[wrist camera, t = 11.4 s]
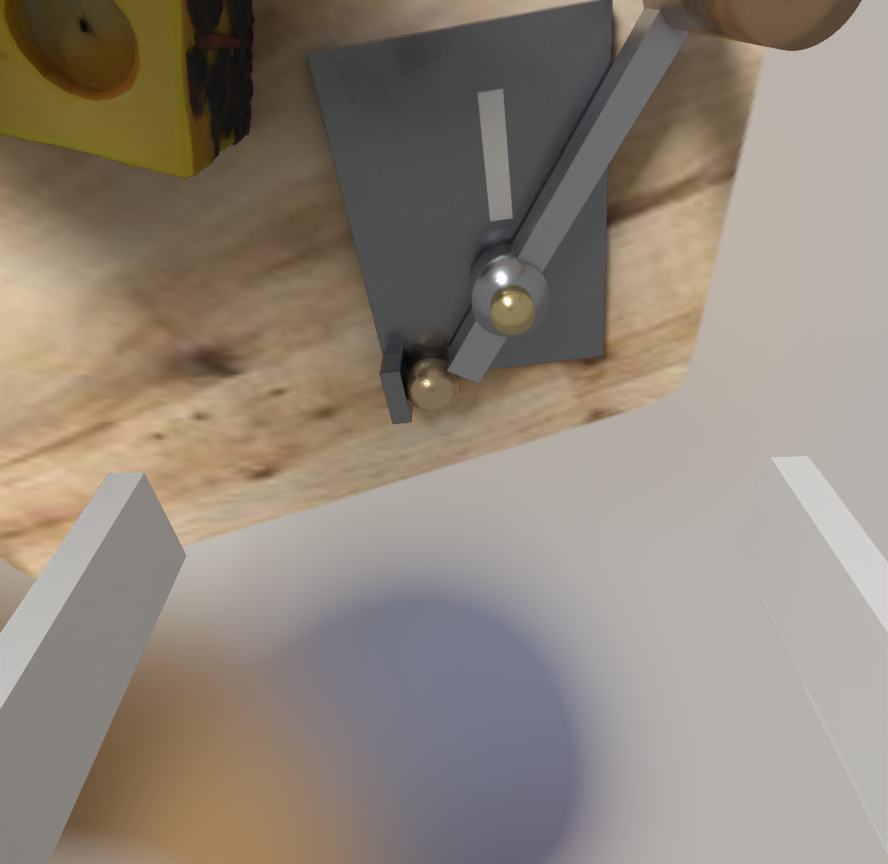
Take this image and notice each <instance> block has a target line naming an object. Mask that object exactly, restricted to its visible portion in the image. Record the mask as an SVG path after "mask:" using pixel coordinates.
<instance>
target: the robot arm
mask: <svg viewBox="0 0 888 864" xmlns="http://www.w3.org/2000/svg"><path fill="white" fill-rule="evenodd" d="M733 546H734V548H735V550H736V552H737V554H738V556H739V558H740V560H741V562H742V564H743V566H744V568H745V570H746V572H747V574H748V576H749V578H750V580H751V582H752V584H753V586H754V588H755V590H756V592H757V594H758V596H759V598H760V600H761V602H762V604H763V606H764V608H765V610H766V612H767V614H768V616H769V618H770V620H771V622H772V624H773V626H774V628H775V630H776V632H777V634H778V636H779V638H780V640H781V642H782V644H783V646H784V648H785V650H786V652H787V654H788V656H789V658H790V660H791V662H792V664H793V666H794V668H795V670H796V672H797V674H798V676H799V678H800V680H801V682H802V684H803V686H804V688H805V690H806V692H807V694H808V696H809V698H810V700H811V702H812V704H813V706H814V708H815V710H816V712H817V714H818V716H819V718H820V720H821V722H822V724H823V726H824V728H825V730H826V732H827V734H828V736H829V738H830V740H831V742H832V744H833V746H834V748H835V750H836V752H837V754H838V756H839V758H840V760H841V762H842V764H843V766H844V768H845V770H846V772H847V774H848V776H849V778H850V780H851V782H852V784H853V786H854V788H855V790H856V792H857V794H858V796H859V798H860V800H861V802H862V804H863V806H864V808H865V810H866V812H867V814H868V816H869V818H870V820H871V822H872V824H873V826H874V828H875V830H876V832H877V834H878V836H879V838H880V840H881V842H882V844H883V846H884V848H885V850H886V852H887V854H888V562H887V561H886V560H885V558H884V557H883V556H882V555H881V553H880V552H879V550H878V549H877V548H876V546H875V545H874V544H873V542H872V541H871V540H870V538H869V537H868V536H867V534H866V533H865V532H864V530H863V529H862V528H861V526H860V525H859V524H858V522H857V521H856V520H855V518H854V517H853V516H852V514H851V513H850V511H849V510H848V509H847V507H846V506H845V505H844V504H843V502H842V501H841V500H840V498H839V497H838V495H837V494H836V493H835V491H834V490H833V489H832V487H831V486H830V485H829V483H828V482H827V481H826V480H825V478H824V477H823V476H822V474H821V473H820V472H819V470H818V469H817V467H815V465H814V463H813V462H812V461H811V459H810V458H809V457H808V456H801V457H770V460H769V462H768V464H767V466H766V469H765V471H764V473H763V476H762V478H761V480H760V482H759V485H758V487H757V489H756V491H755V494H754V496H753V498H752V501H751V503H750V505H749V508H748V510H747V512H746V514H745V516H744V519H743V521H742V523H741V526H740V528H739V530H738V533H737V535H736V537H735V539H734V541H733ZM185 557H186V554H185V552H184V550H183V548H182V546H181V544H180V542H179V540H178V538H177V536H176V534H175V532H174V530H173V528H172V526H171V524H170V522H169V520H168V518H167V516H166V514H165V512H164V510H163V509H162V507H161V505H160V503H159V501H158V499H157V497H156V495H155V493H154V491H153V489H152V487H151V485H150V483H149V481H148V479H147V477H146V475H145V473H109V474H108V475H107V477H106V478H105V480H104V481H103V483H102V484H101V486H100V487H99V489H98V490H97V492H96V493H95V494H94V496H93V497H92V499H91V500H90V502H89V503H88V505H87V506H86V508H85V509H84V511H83V512H82V514H81V515H80V517H79V518H78V520H77V521H76V523H75V524H74V525H73V527H72V528H71V530H70V531H69V533H68V534H67V536H66V537H65V539H64V540H63V542H62V543H61V545H60V546H59V548H58V549H57V551H56V552H55V554H54V555H53V556H52V558H51V559H50V561H49V562H48V564H47V565H46V567H45V568H44V570H43V571H42V573H41V574H40V576H39V577H38V579H37V580H36V582H35V583H34V585H33V586H32V588H31V589H30V591H29V592H28V593H27V595H26V596H25V598H24V599H23V601H22V602H21V604H20V605H19V607H18V608H17V610H16V611H15V613H14V614H13V616H12V617H11V619H10V620H9V621H8V623H7V624H6V626H5V627H4V629H3V630H2V632H1V633H0V864H48V862H49V860H50V858H51V856H52V853H53V851H54V849H55V847H56V845H57V842H58V840H59V837H60V836H61V833H62V831H63V829H64V827H65V824H66V822H67V820H68V818H69V816H70V813H71V811H72V809H73V807H74V804H75V802H76V800H77V798H78V796H79V793H80V791H81V789H82V787H83V784H84V782H85V780H86V778H87V776H88V773H89V771H90V769H91V767H92V764H93V762H94V760H95V758H96V755H97V753H98V751H99V749H100V746H101V744H102V742H103V740H104V738H105V735H106V733H107V731H108V729H109V726H110V724H111V722H112V720H113V717H114V715H115V713H116V711H117V709H118V706H119V704H120V702H121V700H122V698H123V695H124V693H125V691H126V689H127V686H128V684H129V681H130V680H131V677H132V675H133V673H134V671H135V669H136V666H137V664H138V662H139V660H140V657H141V655H142V653H143V651H144V648H145V646H146V644H147V642H148V640H149V637H150V635H151V633H152V631H153V628H154V626H155V624H156V622H157V619H158V617H159V615H160V613H161V611H162V608H163V606H164V604H165V602H166V599H167V597H168V595H169V593H170V591H171V588H172V586H173V584H174V582H175V579H176V577H177V575H178V573H179V570H180V568H181V566H182V564H183V562H184V559H185Z"/></svg>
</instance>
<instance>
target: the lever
mask: <svg viewBox="0 0 888 864" xmlns="http://www.w3.org/2000/svg"><path fill="white" fill-rule="evenodd" d="M860 2H861V0H643V5H644V10H643V12H642V13H641V15H640V17H639V19H638V21H637V22H636V24H635V26H634V28H633V29H632V31H631V33H630V35H629V37H628V38H627V40H626V42H625V44H624V45H623V47H622V49H621V51H620V53H619V54H618V56H617V58H616V60H615V62H614V63H613V65H612V67H611V69H610V70H609V72H608V74H607V76H606V78H605V79H604V81H603V83H602V85H601V86H600V88H599V90H598V92H597V94H596V95H595V97H594V99H593V101H592V102H591V104H590V106H589V108H588V110H587V111H586V113H585V115H584V117H583V118H582V120H581V122H580V124H579V126H578V127H577V129H576V131H575V133H574V135H573V136H572V138H571V140H570V142H569V143H568V145H567V147H566V149H565V151H564V152H563V154H562V156H561V158H560V159H559V161H558V163H557V165H556V167H555V168H554V170H553V172H552V174H551V175H550V177H549V179H548V181H547V183H546V184H545V186H544V188H543V190H542V191H541V193H540V195H539V197H538V199H537V200H536V202H535V204H534V206H533V208H532V209H531V211H530V213H529V215H528V216H527V218H526V220H525V222H524V224H523V225H522V227H521V229H520V231H519V232H518V234H517V236H516V238H515V240H514V241H513V243H512V244H505V245H500V246H496V247H494V248H492V249H490V250H488V251H487V252H485V253H484V254H483V255H482V256H481V257H480V258H479V259H478V260H477V262H476V263H475V265H474V267H473V270H472V273H471V299H472V307H471V309H470V311H469V313H468V315H467V316H466V318H465V320H464V322H463V324H462V325H461V327H460V329H459V331H458V333H457V334H456V336H455V338H454V340H453V342H452V343H451V345H450V347H449V349H448V363H447V371H449V372H451V373H454V374H456V375H458V376H461V377H463V378H466V379H468V380H470V381H473V382H475V383H478V384H479V382H480V381H481V379H482V377H483V376H484V374H485V372H486V371H487V369H488V368H489V366H490V364H491V363H492V361H493V360H494V358H495V356H496V355H497V353H498V352H499V350H500V348H501V347H502V345H503V344H504V342H505V340H506V339H507V337H517V336H521V335H524V334H526V333H528V332H530V331H532V330H533V329H535V328H536V327H537V326H538V325H539V324H540V323H541V322H542V320H543V319H544V318H545V316H546V314H547V312H548V309H549V305H550V293H549V289H548V285H547V282H546V279H545V276H544V272H543V270H544V269H545V267H546V265H547V264H548V262H549V260H550V259H551V257H552V256H553V254H554V252H555V251H556V249H557V247H558V246H559V244H560V243H561V241H562V239H563V238H564V236H565V234H566V233H567V231H568V230H569V228H570V226H571V225H572V223H573V221H574V220H575V218H576V217H577V215H578V213H579V212H580V210H581V208H582V207H583V205H584V204H585V202H586V200H587V199H588V197H589V195H590V194H591V192H592V191H593V189H594V187H595V186H596V184H597V182H598V181H599V179H600V178H601V176H602V174H603V173H604V171H605V169H606V168H607V166H608V165H609V163H610V161H611V160H612V158H613V156H614V155H615V153H616V152H617V150H618V148H619V147H620V145H621V143H622V142H623V140H624V139H625V137H626V135H627V134H628V132H629V130H630V129H631V127H632V126H633V124H634V122H635V121H636V119H637V117H638V116H639V114H640V113H641V111H642V109H643V108H644V106H645V104H646V103H647V101H648V100H649V98H650V96H651V95H652V93H653V91H654V90H655V88H656V87H657V85H658V83H659V82H660V80H661V78H662V77H663V75H664V74H665V72H666V70H667V69H668V67H669V65H670V64H671V62H672V60H673V59H674V57H675V56H676V54H677V52H678V51H679V49H680V47H681V46H682V44H683V43H684V41H685V39H686V38H687V36H688V34H689V33H690V32H693V33H698V34H703V35H709V36H714V37H719V38H724V39H729V40H735V41H740V42H745V43H750V44H755V45H761V46H766V47H771V48H776V49H781V50H788V51H797V50H803V49H806V48H810V47H812V46H815V45H817V44H819V43H820V42H822V41H824V40H826V39H827V38H829V37H830V36H831V35H833V34H834V33H835V32H836V31H837V30H839V29H840V28H841V27H842V26H843V25H844V24H845V23H846V21H847V20H848V19H849V18H850V17H851V16H852V14H853V13H854V11H855V10H856V8H857V7H858V6H859V4H860ZM507 285H518V286H521V287H523V288H525V289H526V290H527V291H528V292H529V293H530V295H531V297H532V301H533V305H534V309H535V318H534V321H533V323H532V325H531V326H530V327H529V328H528V329H527V330H526V331H524V332H522V333H520V334H516V335H508V334H504V333H501V332H500V331H498V330H497V329H496V328H495V327H494V325H493V323H492V320H491V313H490V301H491V298H492V296H493V295H494V293H495V292H496V291H497V290H498V289H500V288H501V287H504V286H507Z"/></svg>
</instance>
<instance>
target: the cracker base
mask: <svg viewBox="0 0 888 864" xmlns="http://www.w3.org/2000/svg"><path fill="white" fill-rule="evenodd" d="M611 35H612V0H592V1H587V2H581V3H576V4H571V5H565V6H560V7H554V8H549V9H544V10H538V11H533V12H527V13H522V14H517V15H511V16H506V17H500V18H495V19H490V20H484V21H479V22H474V23H468V24H463V25H457V26H452V27H447V28H441V29H436V30H430V31H425V32H420V33H414V34H409V35H403V36H398V37H393V38H387V39H382V40H376V41H371V42H366V43H360V44H355V45H349V46H344V47H339V48H333V49H328V50H322V51H317V52H312V53H309V54H307V56H308V60H309V64H310V68H311V72H312V76H313V80H314V84H315V88H316V92H317V96H318V100H319V104H320V108H321V112H322V116H323V120H324V124H325V128H326V132H327V136H328V139H329V143H330V147H331V151H332V155H333V159H334V163H335V167H336V171H337V175H338V179H339V183H340V187H341V191H342V195H343V199H344V203H345V207H346V211H347V215H348V219H349V223H350V227H351V231H352V235H353V239H354V243H355V247H356V251H357V255H358V259H359V263H360V267H361V271H362V275H363V279H364V283H365V287H366V291H367V295H368V299H369V303H370V307H371V311H372V315H373V319H374V323H375V327H376V331H377V334H378V338H379V342H380V346H381V350H382V354H383V359H382V365H381V370H380V377H381V381H382V385H383V389H384V393H385V396H386V400H387V404H388V408H389V412H390V416H391V419H392V423H393V424H400V423H409V422H412V412H413V405H414V406H415V407H416V408H418V409H420V410H422V411H424V412H428V413H437V412H441V411H444V410H446V409H448V408H449V407H450V406H451V405H453V403H454V402H455V401H456V399H457V398H458V395H459V392H460V378H459V376H458V375H456V374H454V373H451V372H449V371H447V363H448V349H449V347H450V345H451V343H452V342H453V340H454V338H455V336H456V334H457V333H458V331H459V329H460V327H461V325H462V324H463V322H464V320H465V318H466V316H467V315H468V313H469V311H470V309H471V307H472V299H471V273H472V270H473V267H474V265H475V263H476V262H477V260H478V259H479V258H480V257H481V256H482V255H483V254H484V253H485V252H487V251H488V250H490V249H492V248H494V247H496V246H500V245H505V244H512V243H513V241H514V240H515V238H516V236H517V234H518V232H519V231H520V229H521V227H522V225H523V224H524V222H525V220H526V218H527V216H528V215H529V213H530V211H531V209H532V208H533V206H534V204H535V202H536V200H537V199H538V197H539V195H540V193H541V191H542V190H543V188H544V186H545V184H546V183H547V181H548V179H549V177H550V175H551V174H552V172H553V170H554V168H555V167H556V165H557V163H558V161H559V159H560V158H561V156H562V154H563V152H564V151H565V149H566V147H567V145H568V143H569V142H570V140H571V138H572V136H573V135H574V133H575V131H576V129H577V127H578V126H579V124H580V122H581V120H582V118H583V117H584V115H585V113H586V111H587V110H588V108H589V106H590V104H591V102H592V101H593V99H594V97H595V95H596V94H597V92H598V90H599V88H600V86H601V85H602V83H603V81H604V79H605V78H606V76H607V74H608V72H609V70H610V69H611ZM607 187H608V166H607V168H606V169H605V171H604V173H603V174H602V176H601V178H600V179H599V181H598V182H597V184H596V186H595V187H594V189H593V191H592V192H591V194H590V195H589V197H588V199H587V200H586V202H585V204H584V205H583V207H582V208H581V210H580V212H579V213H578V215H577V217H576V218H575V220H574V221H573V223H572V225H571V226H570V228H569V230H568V231H567V233H566V234H565V236H564V238H563V239H562V241H561V243H560V244H559V246H558V247H557V249H556V251H555V252H554V254H553V256H552V257H551V259H550V260H549V262H548V264H547V265H546V267H545V269H544V270H543V272H544V276H545V279H546V282H547V285H548V289H549V293H550V305H549V309H548V312H547V314H546V316H545V318H544V319H543V320H542V322H541V323H540V324H539V325H538V326H537V327H536V328H535V329H533V330H532V331H530V332H528V333H526V334H524V335H521V336H517V337H507V339H506V340H505V342H504V344H503V345H502V347H501V348H500V350H499V352H498V353H497V355H496V356H495V358H494V360H493V361H492V363H491V364H490V366H489V368H488V369H487V370H489V369H498V368H506V367H514V366H523V365H531V364H539V363H548V362H556V361H564V360H573V359H581V358H589V357H598V356H603V339H604V301H605V263H606V225H607ZM490 313H491V320H492V323H493V325H494V327H495V328H496V329H497V330H498V331H500V332H501V333H504V334H508V335H516V334H520V333H522V332H524V331H526V330H527V329H528V328H529V327H530V326H531V325H532V323H533V321H534V318H535V309H534V305H533V301H532V297H531V295H530V293H529V292H528V291H527V290H526V289H525V288H523V287H521V286H518V285H507V286H504V287H501V288H500V289H498V290H497V291H496V292H495V293H494V295H493V296H492V298H491V301H490Z"/></svg>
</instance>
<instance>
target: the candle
mask: <svg viewBox="0 0 888 864" xmlns="http://www.w3.org/2000/svg"><path fill="white" fill-rule="evenodd" d="M253 21H254V16H253V13H252V0H0V134H2V135H6V136H11V137H15V138H19V139H23V140H28V141H33V142H39V143H45V144H50V145H55V146H60V147H64V148H68V149H73V150H77V151H82V152H86V153H90V154H93V155H97V156H100V157H104V158H108V159H111V160H115V161H118V162H121V163H125V164H128V165H132V166H137V167H142V168H146V169H149V170H153V171H157V172H161V173H165V174H169V175H173V176H177V177H181V178H188V177H191V176H195V175H197V174H198V173H200V172H201V171H202V170H203V169H205V168H206V167H207V166H209V165H210V164H211V163H212V162H213V161H214V160H215V158H216V157H217V156H218V155H219V152H220V151H224V150H225V148H226V147H227V146H228V145H229V144H234V145H236V144H237V143H238V142H239V141H241V140H242V138H243V136H246V135H248V134H249V128H250V119H251V106H250V100H251V98H252V95H253V87H252V80H251V77H250V74H251V72H252V70H253V69H252V64H251V63H252V56H253V54H252V51H251V49H252V42H253V29H252V24H253Z"/></svg>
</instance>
